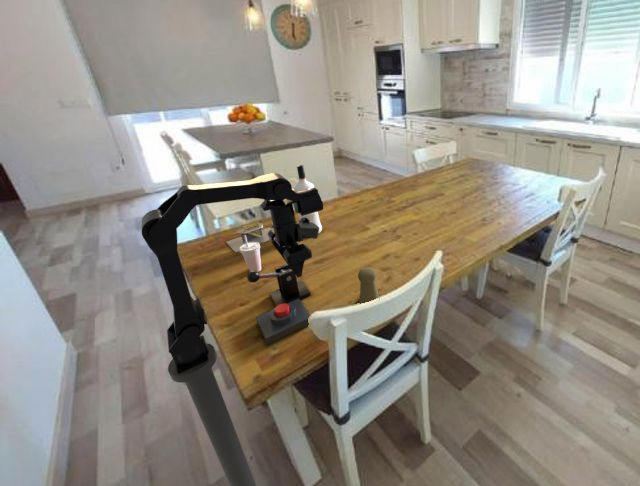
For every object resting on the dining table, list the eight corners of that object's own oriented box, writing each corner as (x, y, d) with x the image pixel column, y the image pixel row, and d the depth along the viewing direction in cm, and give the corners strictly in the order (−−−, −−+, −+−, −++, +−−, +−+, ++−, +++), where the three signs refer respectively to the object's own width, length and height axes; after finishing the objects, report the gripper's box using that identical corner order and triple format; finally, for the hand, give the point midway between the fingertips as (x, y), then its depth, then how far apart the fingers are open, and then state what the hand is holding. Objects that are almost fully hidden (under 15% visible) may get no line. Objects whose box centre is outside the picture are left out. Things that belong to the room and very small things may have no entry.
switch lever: (247, 285, 89) (249, 274, 88) (245, 279, 91) (246, 269, 91) (291, 281, 97) (293, 271, 96) (287, 276, 99) (289, 266, 99)
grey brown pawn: (360, 309, 94) (357, 278, 90) (358, 296, 99) (355, 266, 95) (380, 305, 95) (378, 274, 91) (377, 292, 101) (375, 263, 96)
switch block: (267, 344, 82) (264, 333, 81) (257, 322, 89) (254, 311, 88) (312, 323, 89) (310, 311, 87) (300, 304, 96) (298, 293, 95)
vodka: (299, 238, 134) (286, 169, 122) (301, 228, 142) (289, 163, 130) (322, 235, 136) (311, 167, 124) (322, 226, 144) (312, 161, 132)
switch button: (277, 319, 86) (276, 314, 85) (274, 312, 88) (272, 307, 87) (291, 313, 88) (290, 308, 87) (287, 306, 90) (286, 301, 89)
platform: (280, 235, 136) (278, 222, 134) (235, 252, 124) (231, 237, 122) (269, 227, 144) (266, 214, 141) (225, 241, 132) (221, 227, 130)
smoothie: (247, 266, 115) (238, 232, 110) (266, 263, 117) (258, 229, 111) (244, 276, 109) (234, 241, 104) (264, 273, 111) (255, 238, 106)
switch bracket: (277, 309, 94) (271, 282, 90) (270, 295, 100) (263, 269, 96) (310, 295, 100) (305, 269, 96) (301, 283, 106) (296, 257, 102)
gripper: (326, 223, 83) (334, 273, 89) (301, 202, 97) (309, 247, 103) (283, 237, 77) (294, 289, 83) (262, 212, 91) (273, 259, 97)
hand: (294, 269), depth 92 cm, fingers open, 9 cm apart
